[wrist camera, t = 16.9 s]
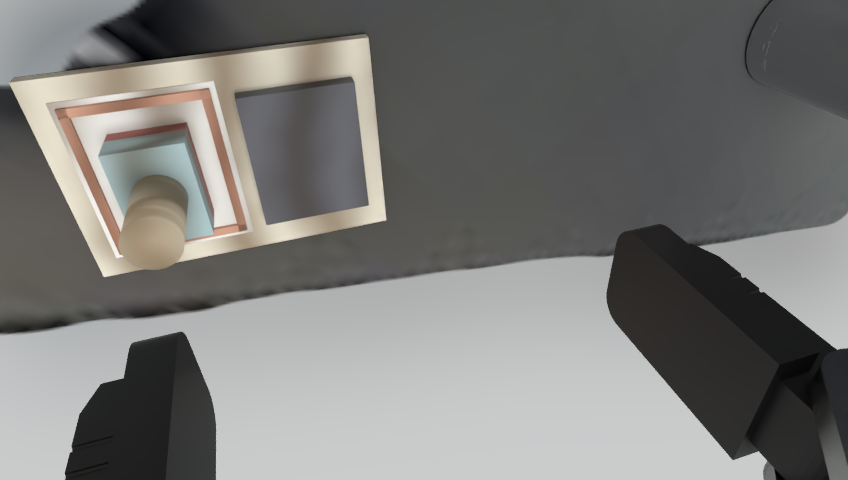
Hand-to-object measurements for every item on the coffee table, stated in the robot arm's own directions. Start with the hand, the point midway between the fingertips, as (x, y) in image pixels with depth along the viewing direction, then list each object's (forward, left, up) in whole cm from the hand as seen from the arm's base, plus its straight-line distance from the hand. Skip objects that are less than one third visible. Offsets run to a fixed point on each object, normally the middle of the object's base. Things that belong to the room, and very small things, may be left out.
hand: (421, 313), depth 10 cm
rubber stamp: (+10, +11, -31) cm, 34 cm away
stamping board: (+6, +11, -32) cm, 34 cm away
